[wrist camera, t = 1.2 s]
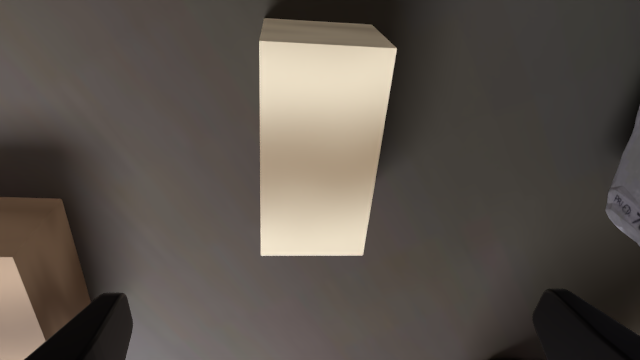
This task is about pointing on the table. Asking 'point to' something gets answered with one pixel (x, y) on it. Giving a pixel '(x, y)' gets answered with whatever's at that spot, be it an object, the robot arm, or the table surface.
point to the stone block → (627, 188)
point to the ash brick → (320, 133)
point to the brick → (36, 274)
